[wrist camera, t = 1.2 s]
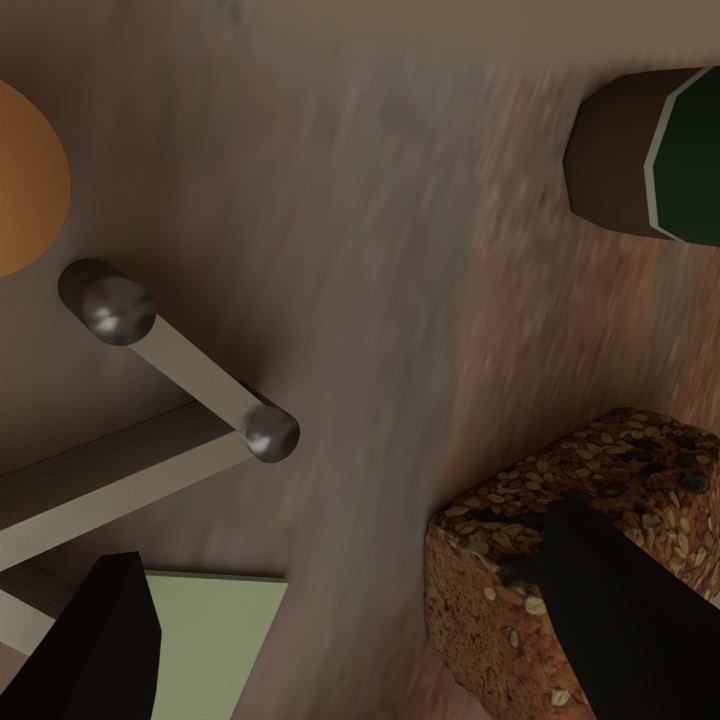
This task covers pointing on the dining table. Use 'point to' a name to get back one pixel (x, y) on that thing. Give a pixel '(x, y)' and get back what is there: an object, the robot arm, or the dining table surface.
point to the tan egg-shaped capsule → (29, 182)
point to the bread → (523, 547)
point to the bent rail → (124, 449)
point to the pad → (208, 639)
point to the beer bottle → (650, 156)
